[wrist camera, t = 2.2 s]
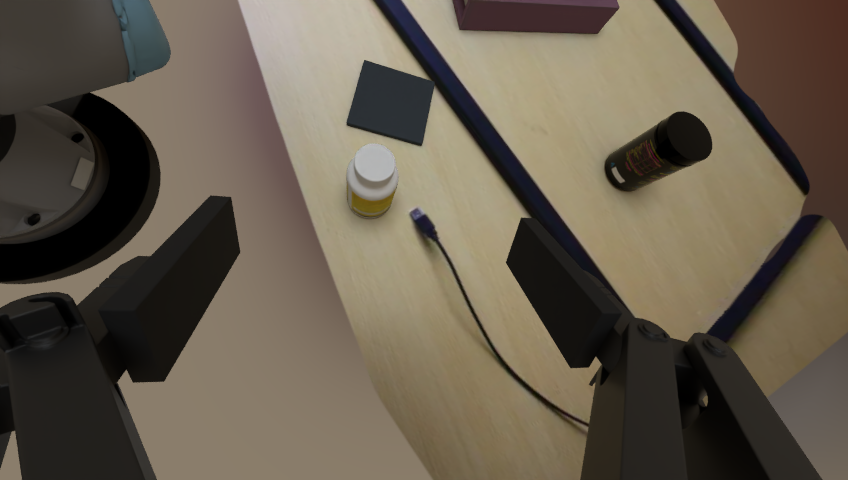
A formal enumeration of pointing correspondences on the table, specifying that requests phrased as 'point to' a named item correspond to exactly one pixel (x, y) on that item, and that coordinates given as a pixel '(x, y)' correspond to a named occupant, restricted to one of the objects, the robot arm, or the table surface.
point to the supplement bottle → (371, 181)
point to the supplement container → (660, 152)
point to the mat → (391, 103)
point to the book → (535, 15)
